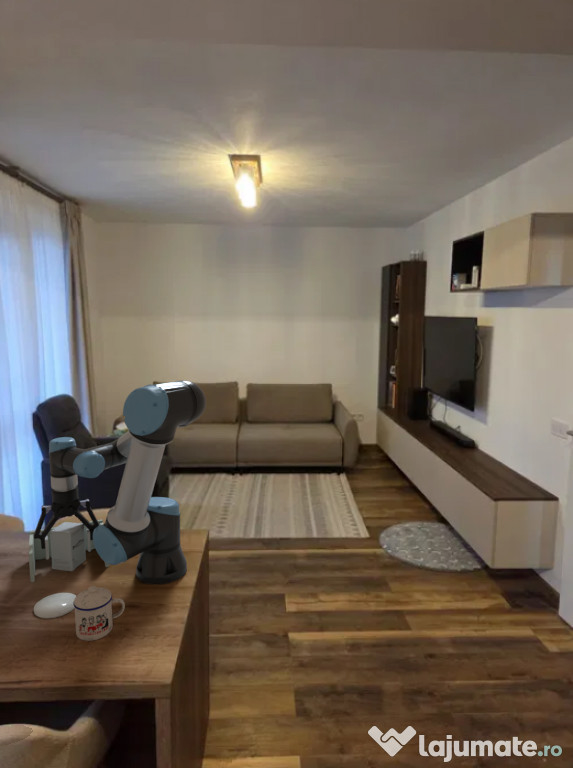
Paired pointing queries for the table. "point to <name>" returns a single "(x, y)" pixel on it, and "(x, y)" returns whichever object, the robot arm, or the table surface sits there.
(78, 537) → the supplement box
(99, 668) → the table surface
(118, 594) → the table surface
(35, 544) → the three-sided green enclosure
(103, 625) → the teacup with lid
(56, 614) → the coaster
